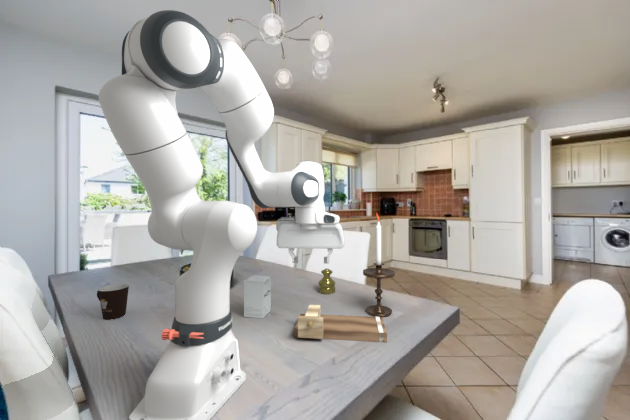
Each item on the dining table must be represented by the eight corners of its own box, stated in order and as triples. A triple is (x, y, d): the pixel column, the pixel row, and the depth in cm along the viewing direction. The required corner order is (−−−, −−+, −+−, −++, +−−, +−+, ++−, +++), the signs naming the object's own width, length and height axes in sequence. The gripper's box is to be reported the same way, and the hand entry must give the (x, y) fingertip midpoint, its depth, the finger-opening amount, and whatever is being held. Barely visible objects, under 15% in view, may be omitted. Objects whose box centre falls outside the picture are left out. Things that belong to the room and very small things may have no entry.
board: (386, 342, 76) (386, 332, 76) (294, 337, 80) (294, 328, 80) (382, 325, 87) (382, 316, 87) (300, 321, 91) (300, 313, 90)
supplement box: (263, 319, 93) (263, 281, 92) (243, 317, 94) (242, 280, 94) (271, 310, 100) (271, 275, 100) (252, 309, 101) (252, 274, 101)
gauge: (322, 340, 76) (322, 320, 75) (297, 339, 76) (297, 319, 76) (326, 322, 87) (326, 305, 87) (304, 321, 88) (303, 304, 88)
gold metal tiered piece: (335, 294, 117) (335, 270, 117) (318, 294, 117) (318, 271, 117) (334, 289, 125) (334, 267, 124) (318, 289, 125) (318, 267, 125)
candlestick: (357, 312, 97) (356, 213, 97) (373, 304, 105) (373, 212, 105) (385, 321, 90) (384, 213, 89) (400, 311, 98) (400, 212, 97)
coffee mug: (132, 315, 96) (132, 287, 96) (101, 323, 90) (100, 293, 89) (123, 307, 104) (123, 280, 104) (94, 314, 98) (94, 285, 97)
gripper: (273, 217, 81) (274, 265, 81) (343, 217, 78) (344, 266, 79) (278, 216, 87) (279, 260, 88) (344, 216, 85) (344, 261, 85)
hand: (310, 263), depth 83 cm, fingers open, 8 cm apart
